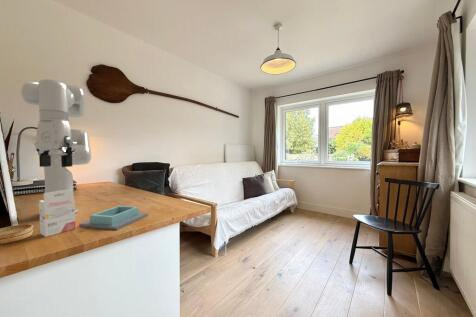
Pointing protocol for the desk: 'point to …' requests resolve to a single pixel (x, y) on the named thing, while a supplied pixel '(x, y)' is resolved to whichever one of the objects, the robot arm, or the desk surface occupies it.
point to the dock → (114, 218)
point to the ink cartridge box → (57, 213)
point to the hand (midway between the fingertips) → (56, 166)
